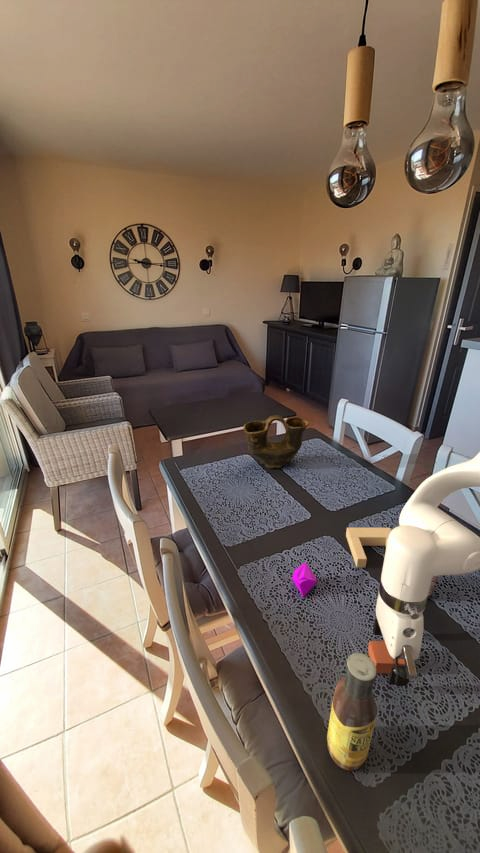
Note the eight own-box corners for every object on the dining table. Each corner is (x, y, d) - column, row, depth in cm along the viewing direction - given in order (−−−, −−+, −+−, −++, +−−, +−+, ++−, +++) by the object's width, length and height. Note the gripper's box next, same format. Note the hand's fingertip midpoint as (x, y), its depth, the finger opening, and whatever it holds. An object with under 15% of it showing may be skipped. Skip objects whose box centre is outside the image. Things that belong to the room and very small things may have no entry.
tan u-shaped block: (388, 536, 102) (390, 527, 101) (404, 568, 91) (406, 559, 90) (345, 535, 103) (346, 527, 102) (356, 567, 92) (357, 558, 91)
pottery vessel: (302, 453, 148) (304, 408, 140) (310, 467, 138) (313, 419, 130) (242, 458, 146) (241, 413, 138) (246, 472, 136) (244, 424, 128)
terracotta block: (400, 651, 72) (402, 641, 71) (408, 674, 68) (411, 663, 67) (367, 650, 72) (369, 640, 71) (374, 673, 68) (376, 663, 67)
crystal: (289, 582, 88) (289, 568, 86) (307, 574, 91) (308, 560, 89) (301, 598, 84) (302, 583, 82) (320, 589, 86) (321, 574, 84)
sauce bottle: (349, 784, 54) (364, 704, 46) (318, 743, 58) (326, 664, 50) (376, 752, 57) (394, 672, 49) (344, 716, 62) (356, 638, 54)
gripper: (449, 639, 54) (428, 707, 61) (405, 555, 70) (393, 617, 77) (398, 638, 55) (383, 706, 62) (366, 555, 71) (357, 616, 78)
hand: (388, 656), depth 69 cm, fingers open, 9 cm apart
